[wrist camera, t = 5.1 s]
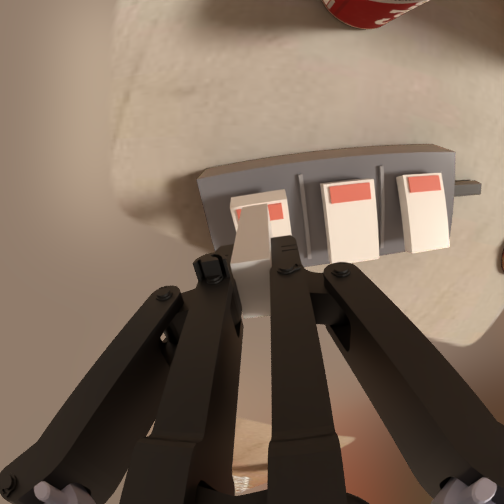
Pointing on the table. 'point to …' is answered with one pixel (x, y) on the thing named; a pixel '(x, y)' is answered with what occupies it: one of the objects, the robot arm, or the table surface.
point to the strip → (309, 191)
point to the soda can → (369, 11)
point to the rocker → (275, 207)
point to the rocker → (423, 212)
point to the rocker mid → (350, 220)
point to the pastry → (503, 259)
